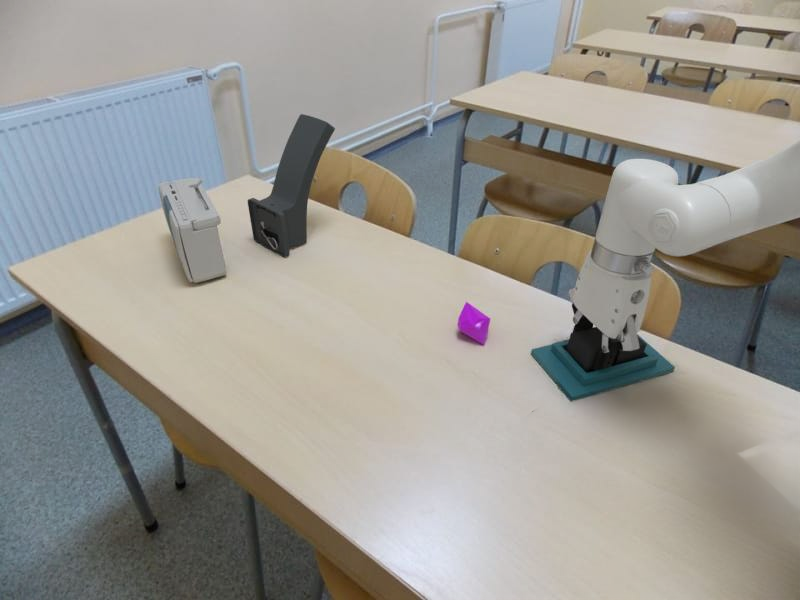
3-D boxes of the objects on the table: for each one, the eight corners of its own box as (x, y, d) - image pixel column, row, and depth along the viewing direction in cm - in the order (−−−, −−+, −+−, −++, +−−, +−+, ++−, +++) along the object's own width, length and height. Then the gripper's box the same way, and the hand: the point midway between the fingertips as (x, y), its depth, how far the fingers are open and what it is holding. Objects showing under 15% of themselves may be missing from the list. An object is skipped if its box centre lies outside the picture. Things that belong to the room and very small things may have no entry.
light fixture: (345, 229, 116) (340, 120, 102) (284, 259, 106) (269, 141, 92) (313, 215, 122) (304, 109, 108) (252, 241, 111) (233, 128, 97)
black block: (640, 361, 81) (647, 344, 79) (614, 368, 80) (620, 351, 78) (619, 341, 85) (625, 324, 83) (593, 348, 84) (599, 331, 81)
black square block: (612, 363, 79) (619, 346, 77) (585, 370, 77) (591, 353, 75) (592, 343, 83) (597, 326, 81) (565, 349, 81) (570, 332, 79)
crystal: (453, 338, 86) (456, 316, 84) (464, 320, 90) (466, 299, 88) (483, 347, 85) (486, 325, 82) (493, 328, 89) (496, 307, 86)
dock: (673, 371, 81) (678, 360, 79) (570, 401, 75) (574, 389, 74) (625, 329, 89) (629, 318, 88) (530, 353, 84) (533, 341, 82)
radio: (170, 239, 111) (146, 148, 100) (210, 231, 115) (190, 142, 103) (189, 289, 97) (162, 188, 85) (233, 278, 100) (213, 180, 88)
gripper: (691, 282, 64) (647, 387, 75) (603, 221, 77) (576, 318, 88) (643, 293, 62) (605, 399, 72) (560, 229, 75) (538, 327, 85)
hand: (589, 354), depth 80 cm, fingers closed on black square block, 4 cm apart
